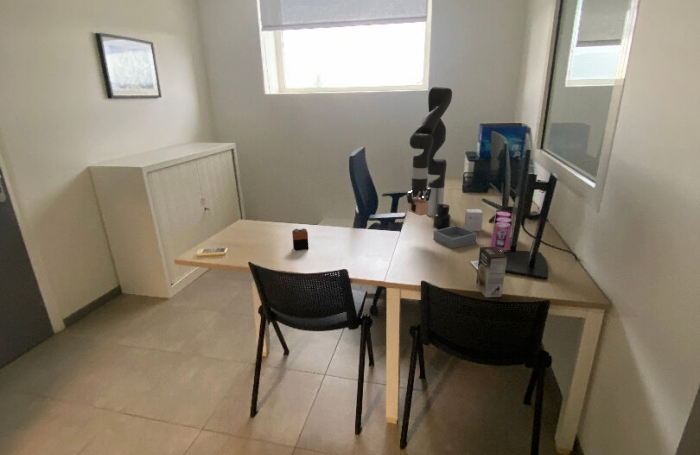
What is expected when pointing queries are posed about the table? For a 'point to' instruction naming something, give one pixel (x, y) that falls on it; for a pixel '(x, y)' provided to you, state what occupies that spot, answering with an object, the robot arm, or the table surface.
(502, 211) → the gum box
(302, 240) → the battery
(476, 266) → the touchpad
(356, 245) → the table surface
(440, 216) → the ink bottle
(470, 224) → the small box
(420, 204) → the box
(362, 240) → the table surface
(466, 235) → the crate
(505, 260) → the coffee box
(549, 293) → the table surface
